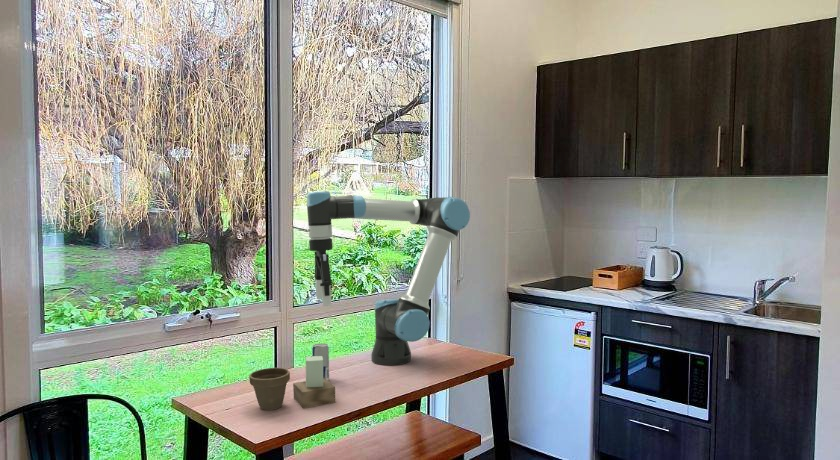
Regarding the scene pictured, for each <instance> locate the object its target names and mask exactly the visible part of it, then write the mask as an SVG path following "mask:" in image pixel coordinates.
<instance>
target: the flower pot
mask: <svg viewBox="0 0 840 460" xmlns="http://www.w3.org/2000/svg"><path fill="white" fill-rule="evenodd" d="M290 376H291V374H290V370H289V369H287V368H284V367H268V368H267V367H266V368H261V369H259V370H254V371H253V372H251V373H250V374H249V375H248V378H249V379H248V380H249V385H251V386H252V387H253V390H254V392H255V397H256V400H257V403H258V406H259V408H260V409H262V410H265V411H271V410H277V409H280V408H281V407H282V406H283V404H284V399H285V394H286V388H287V383H288V382H290V380H291V377H290Z"/></svg>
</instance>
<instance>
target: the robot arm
mask: <svg viewBox="0 0 840 460" xmlns="http://www.w3.org/2000/svg"><path fill="white" fill-rule="evenodd" d="M306 195H307V197H306V207H307V209H306V210H307V224H308V225H307V226H308V228H307V229H306V232H308V237H309V240H308V245H309V246H308V248H309V251H311V252H314V278H315V289H316V290H315V291H316V293H315V294H316V300H322V307H328V306H332V289H331V287H332V286H331V285H332V277H331V276H332V275H331V268H330V262H329V261H330V259H329V254H327V251H330V250H333V248H334V247H333V239H332V237H333V228H332V220H339V219H340V220H341V219H343V220H344V219H345V220H346V219H357V220H358V219H359V220H374V221H375V220H376V221H377V220H378V221H393V222H394V221H396V222H397V221H398V222H409V223H410V224H411V225H419V226H424V227H426V228H427V231H428V235H427V237H426V240H425V241H424V242H425V243H424V245H423V247H422V250H421V253H420V255H419V258H418V261H417V263H416V266H415V268H414V271H413V273H412V276H411V279H410V282H409V284H408V287H407V289H406V292H405V294H404V295H401V296H399V298H389V299H388V298H387V299H380V300H376V302H375V304H374V305H375V307H374V318H375V319H374V321H375V322H374V323H375V324H374V325H375V326H374V327H375V328H374V329H375V341H374V345H373V347H372V350H371V355H370V356H371V357H370V358H371V362H372V363H374V364H377V365H381V366H396V365H403V364H406V363H407V364H408V363H410V362H412V351H411V348H410V346H409V342H410V343H411V342H413V343H414V342H418V341H419V340H421V339H423V338H424V337H425V336H426V335H427V333H428V331H429V330H430V324H431V323H430V322H431V321H430V319H429V316H428V315H429V313H430V310H431V308H430V305H429V300H430V298H431V295H432V293H433V290H434V287H435V284H436V283H437V280H438V277H439V274H440V272H441V268H442V266H443V263H444V261H445V258H446V255H447V254H448V250H449V248H450V245H451V243H452V241H454V240H457V238H458V236H459V234H460V231H461V230H463V229H465V228H466V227H467V226H468V224H469V222H470V218H471V211H470V209H469V206H468V204H467V203H466V202H465V201H464V200H463V199H462V198H458V197H455V196H449V197H448V196H447V197H430V198H422V199H421V198H420V199H418V198H412V199H411V200H410V201H409V200H396V199H395V200H393V199H380V198H379V199H378V198H364V197H363V196H362V195H342V196H341V195H339V196H337V195H336V196H334V195H331V193H330V191H329V190H321V191H320V190H318V191H314V190H313V191H309V192H308V193H307V194H306Z"/></svg>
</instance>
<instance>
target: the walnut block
mask: <svg viewBox="0 0 840 460" xmlns="http://www.w3.org/2000/svg"><path fill="white" fill-rule="evenodd" d="M292 385H293V387H292V388H293V390H292V391H293V400H295V402H296V403H298V405H299V406H300V407H301V408H302V409H305V408H311V407H317V406H322V405H328V404H333V403H336V386H335V385H333V383H331V382H330V380H328V381H327V380H326V379H325V378H323V387H309V388H306V380H304V381H298V382H293V384H292Z"/></svg>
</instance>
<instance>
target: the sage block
mask: <svg viewBox="0 0 840 460" xmlns="http://www.w3.org/2000/svg"><path fill="white" fill-rule="evenodd" d="M305 381H306V388H309V387H323V357H322V356H313V355H312V356H305Z"/></svg>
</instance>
